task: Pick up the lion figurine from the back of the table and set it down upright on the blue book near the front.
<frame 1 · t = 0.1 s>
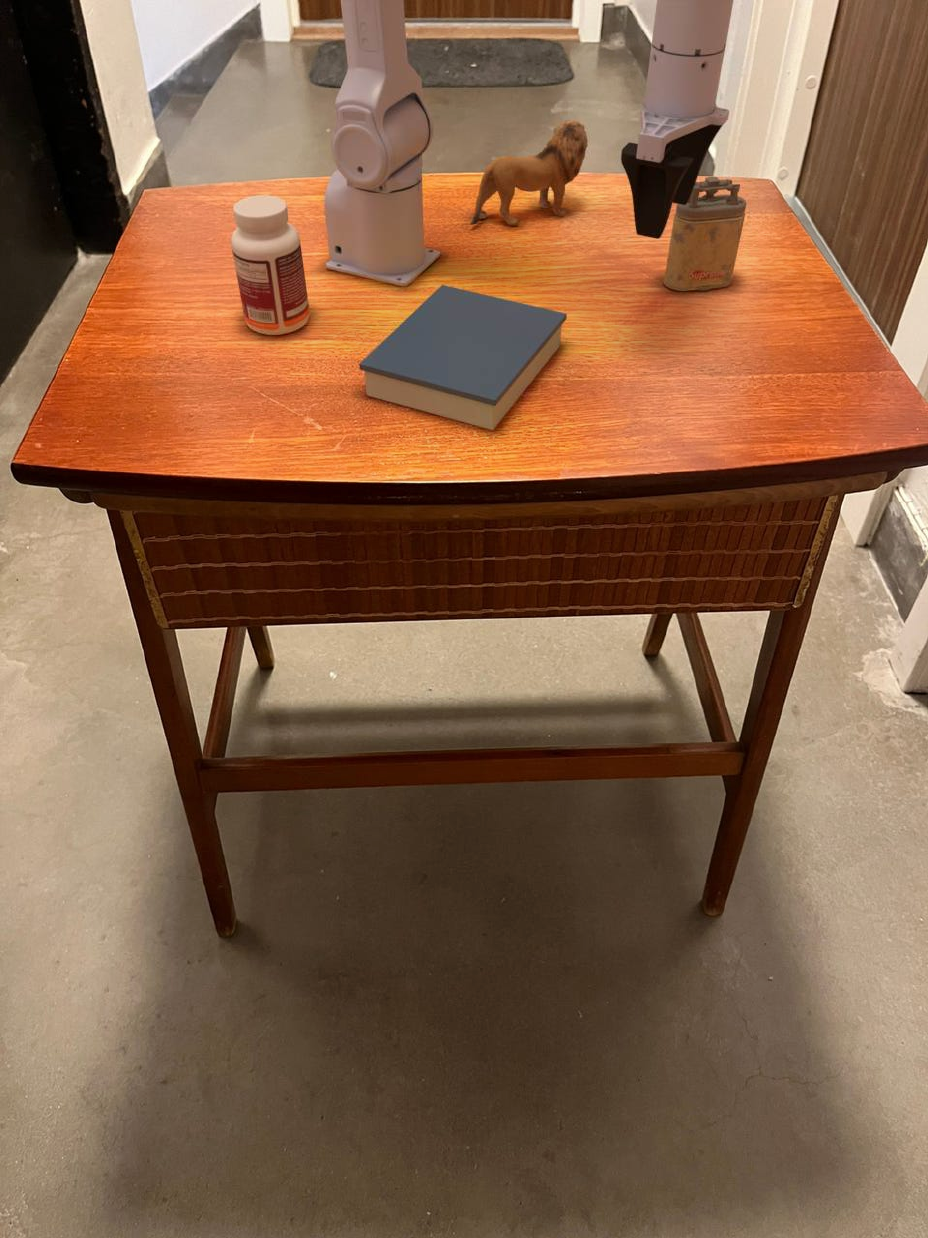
hand: (662, 217, 86), 10 cm above the table, tool pointing down, fingers open, 7 cm apart
blue book: (466, 369, 88), on the table
lion figurine: (528, 214, 111), on the table
lighter: (697, 285, 99), on the table
pill bottle: (277, 322, 94), on the table
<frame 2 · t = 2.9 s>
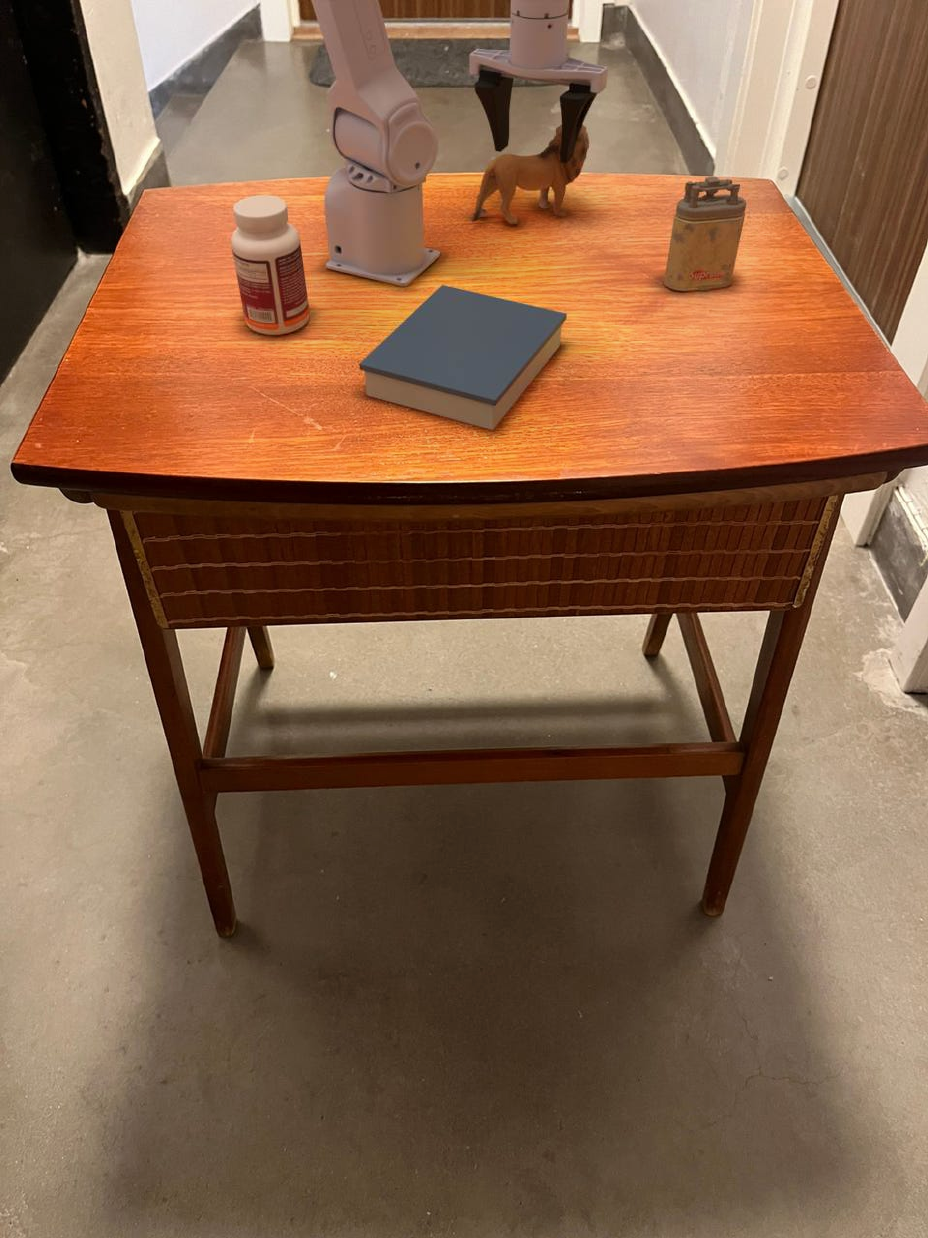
hand: (533, 153, 106), 6 cm above the table, tool pointing down, fingers open, 7 cm apart
lion figurine: (528, 214, 111), on the table, touching gripper
everything else where it was.
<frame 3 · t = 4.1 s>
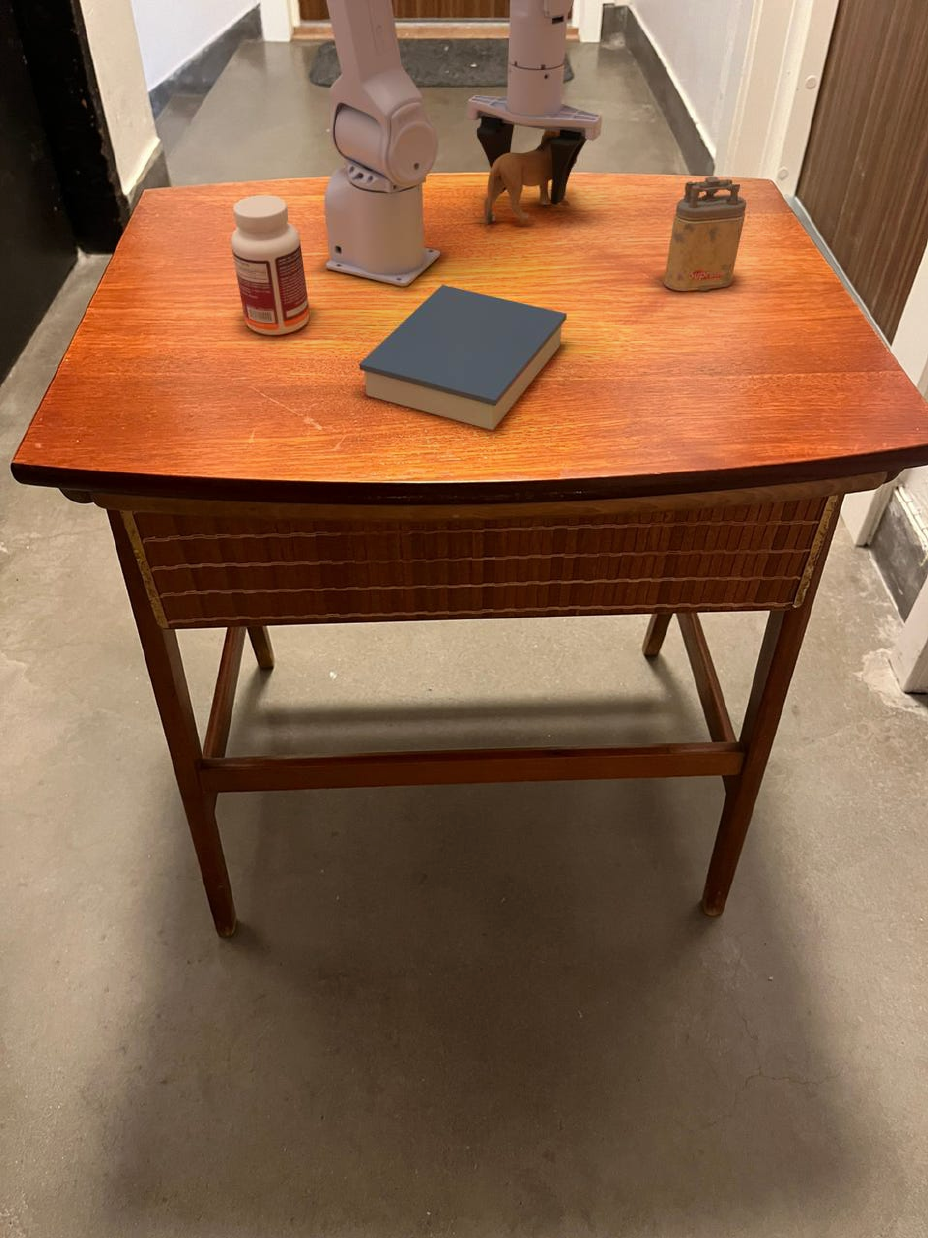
hand: (529, 195, 109), 2 cm above the table, tool pointing down, fingers closed on lion figurine, 6 cm apart
lion figurine: (533, 212, 111), on the table, touching gripper
everything else where it was.
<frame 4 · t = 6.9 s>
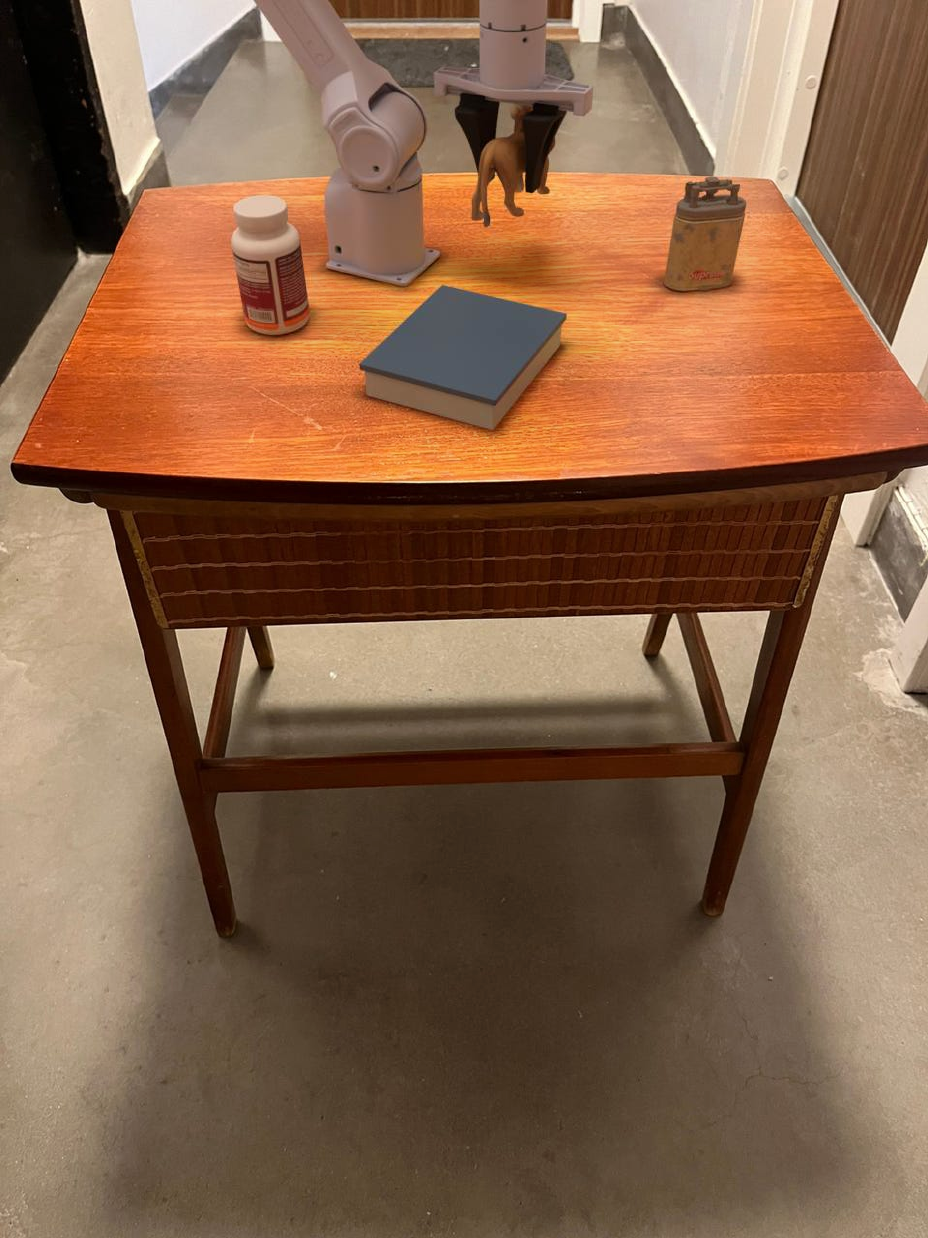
hand: (510, 185, 93), 9 cm above the table, tool pointing down, fingers closed on lion figurine, 4 cm apart
lion figurine: (513, 203, 95), point 7 cm above the table, touching gripper
everything else where it was.
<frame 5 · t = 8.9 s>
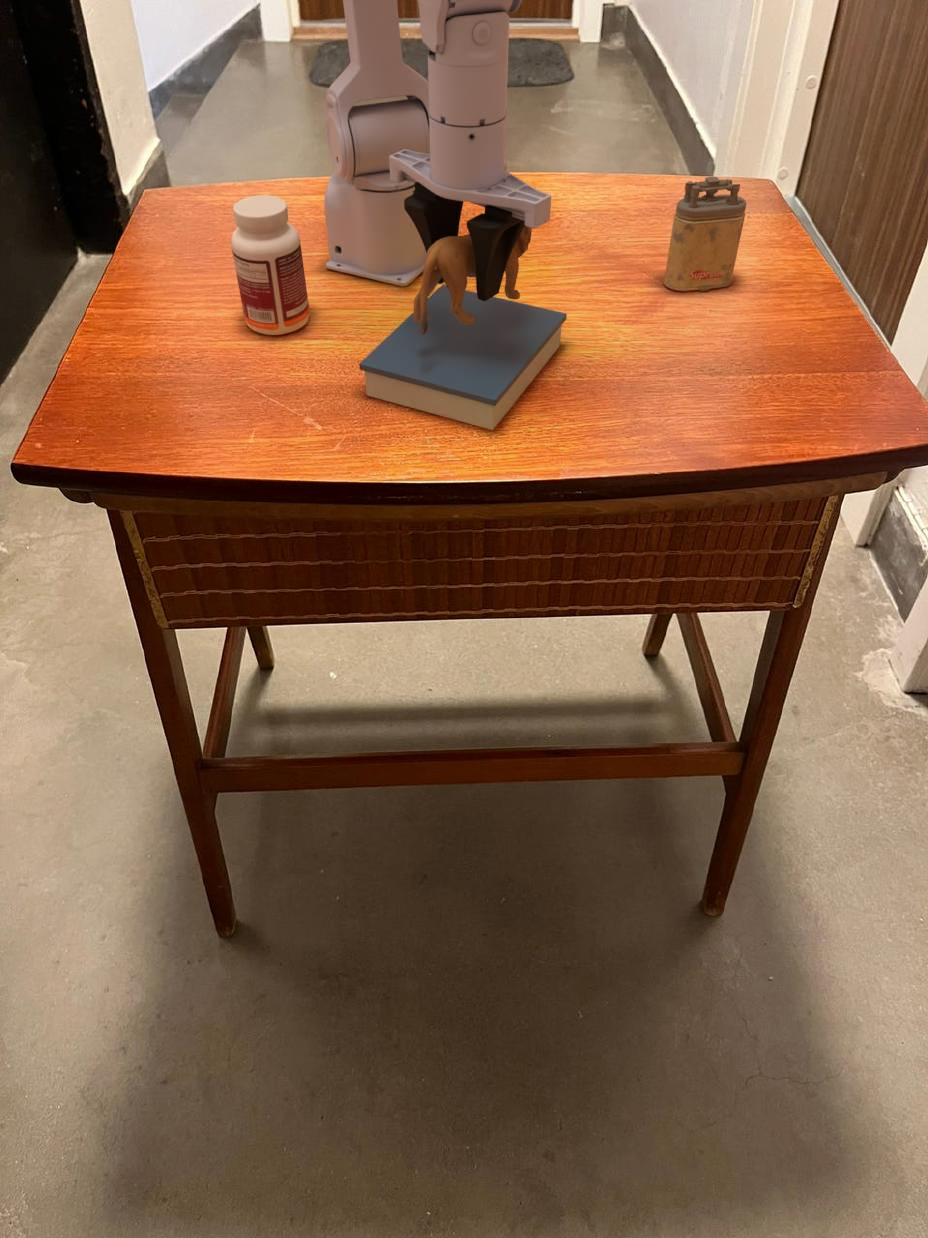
hand: (466, 287, 82), 8 cm above the table, tool pointing down, fingers closed on lion figurine, 4 cm apart
lion figurine: (473, 305, 84), point 6 cm above the table, touching gripper
everything else where it was.
when the fingers open (5 cm above the table, at t = 10.1 s): lion figurine stays where it is, resting on blue book.
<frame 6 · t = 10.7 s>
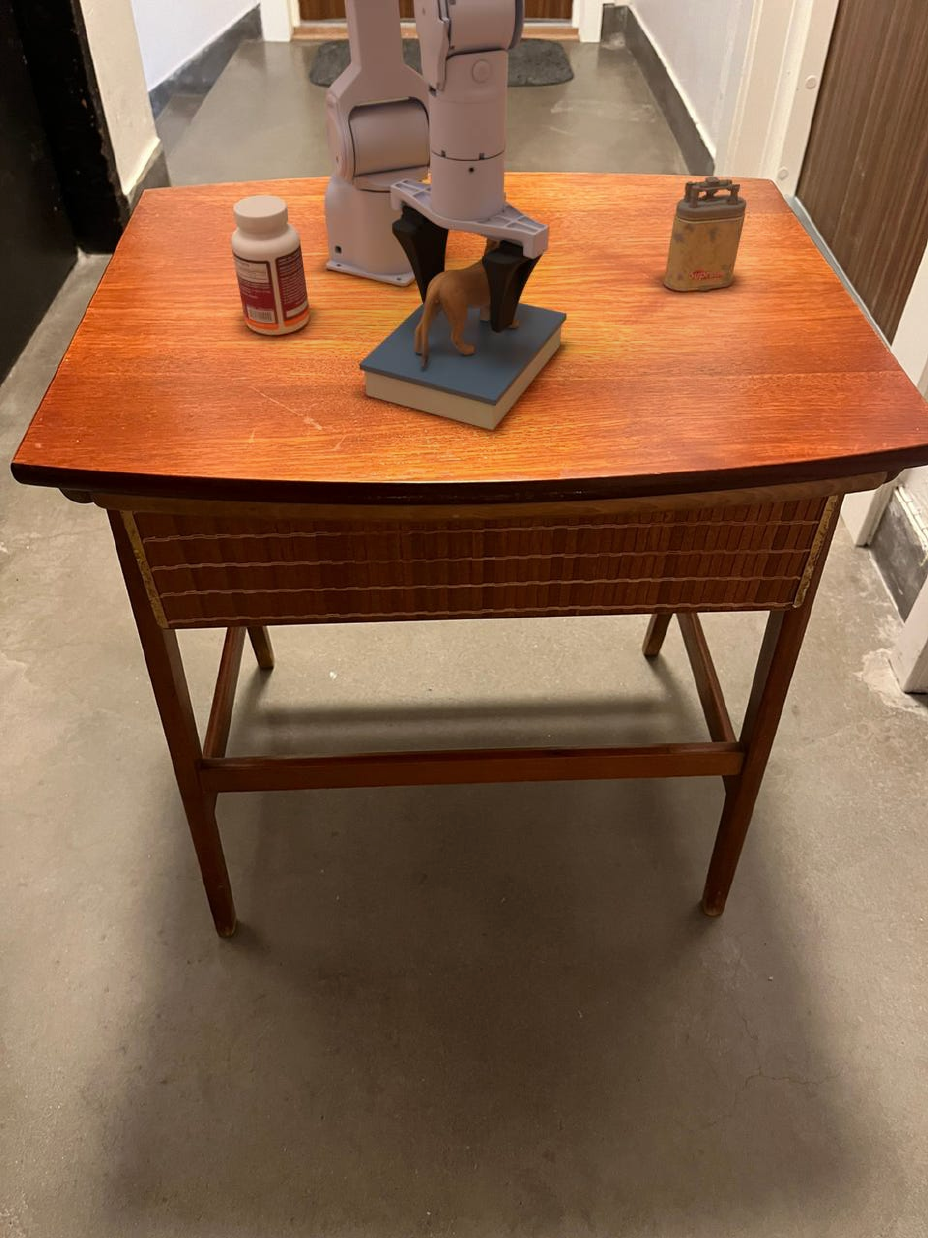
hand: (466, 312, 84), 6 cm above the table, tool pointing down, fingers open, 7 cm apart
lion figurine: (473, 333, 86), point 3 cm above the table, touching blue book
everything else where it was.
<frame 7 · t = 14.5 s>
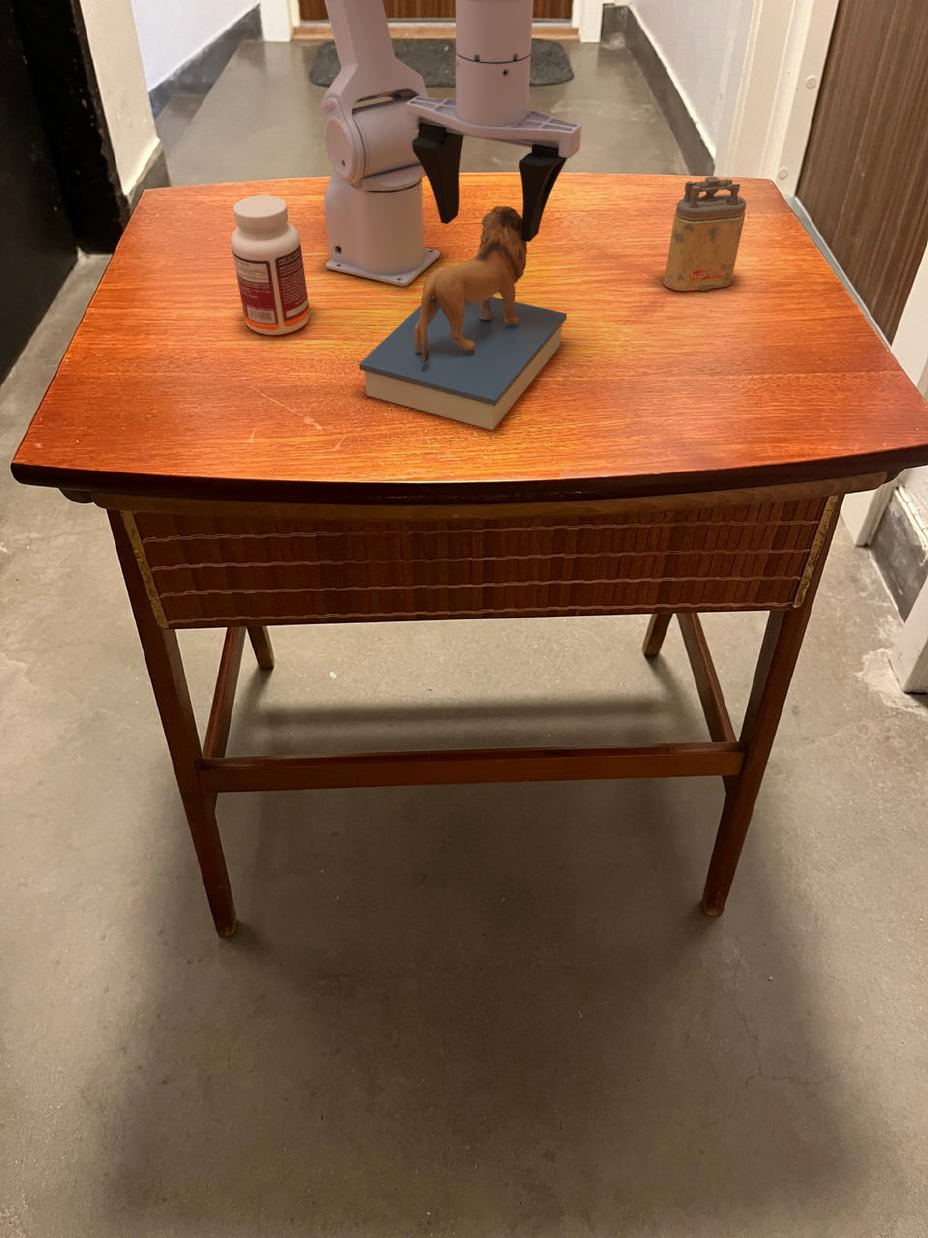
hand: (489, 227, 84), 10 cm above the table, tool pointing down, fingers open, 7 cm apart
nothing on the table moved.
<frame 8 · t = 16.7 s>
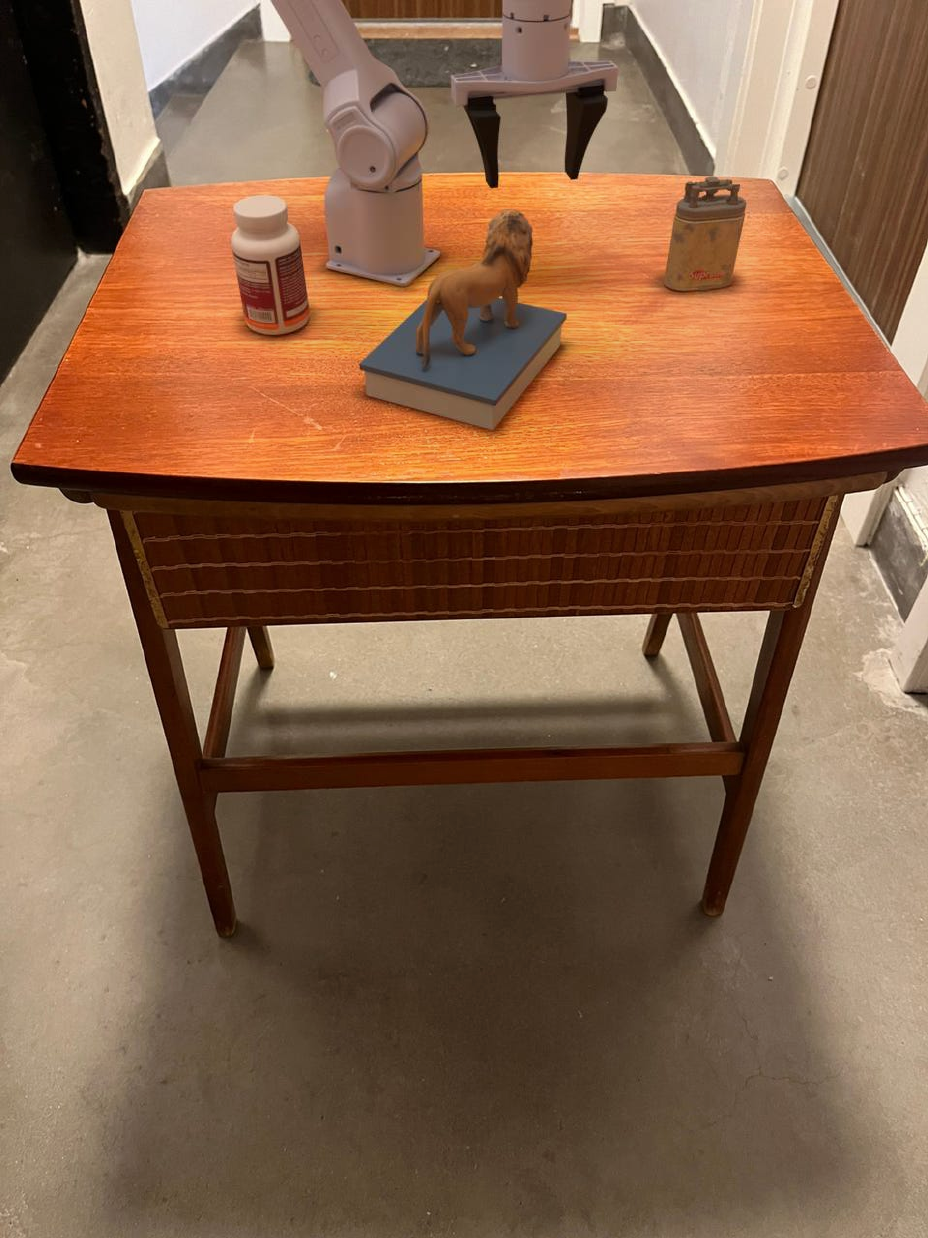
hand: (531, 179, 91), 10 cm above the table, tool pointing down, fingers open, 7 cm apart
nothing on the table moved.
at the end: lion figurine inside the target area on the blue book (1.2 cm from its centre), point 3.0 cm above the blue book's base; lion figurine tilted 0°; the gripper is holding nothing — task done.
